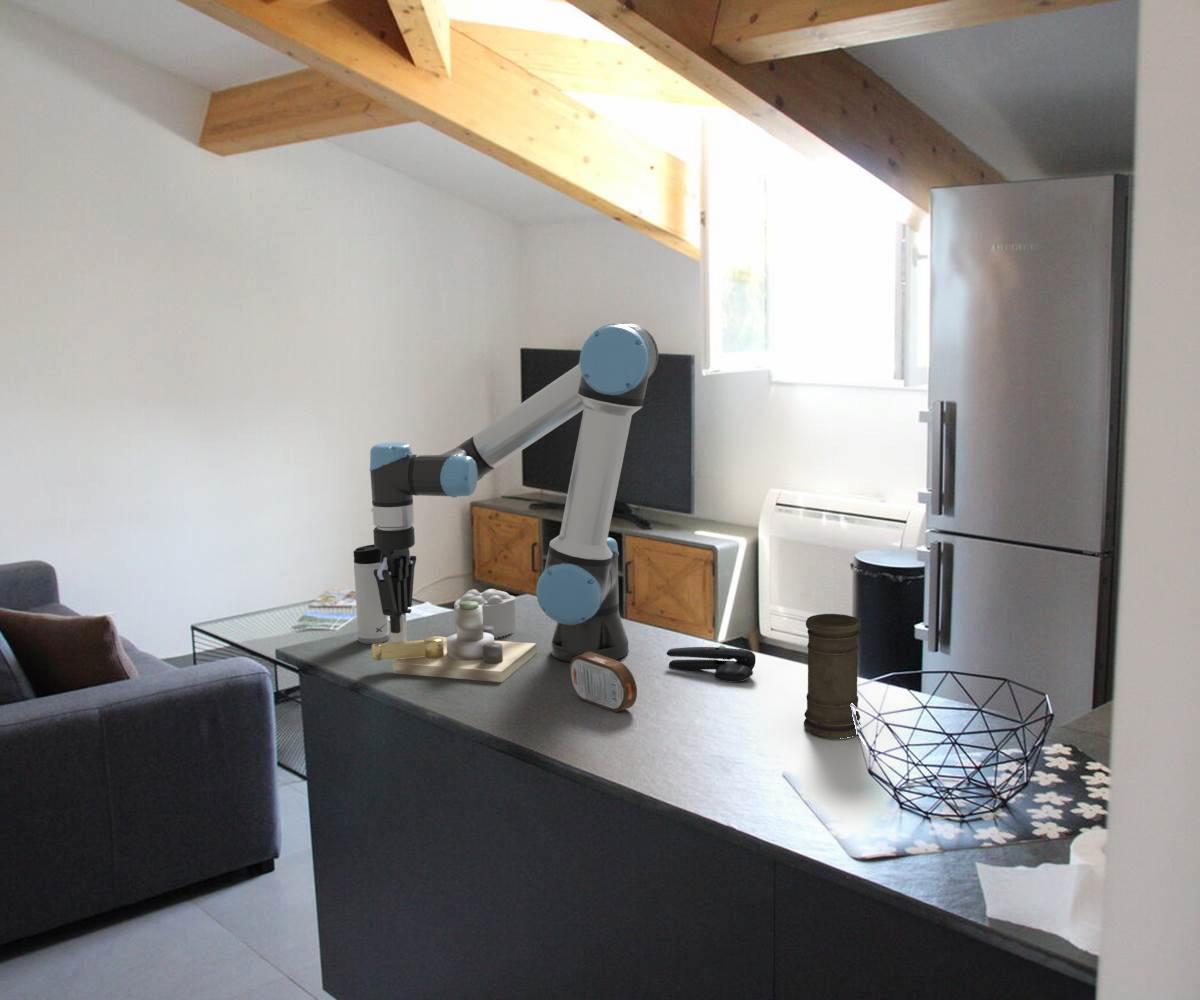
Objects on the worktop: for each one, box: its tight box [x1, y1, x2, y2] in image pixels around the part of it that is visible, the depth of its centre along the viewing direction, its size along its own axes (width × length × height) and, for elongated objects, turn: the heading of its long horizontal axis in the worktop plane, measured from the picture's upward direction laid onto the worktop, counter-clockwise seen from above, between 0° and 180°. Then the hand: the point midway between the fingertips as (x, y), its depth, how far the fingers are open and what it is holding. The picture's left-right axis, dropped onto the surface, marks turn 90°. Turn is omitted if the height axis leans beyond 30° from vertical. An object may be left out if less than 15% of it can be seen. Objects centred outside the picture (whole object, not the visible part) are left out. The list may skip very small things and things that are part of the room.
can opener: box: [666, 645, 757, 683], centre depth 214 cm, size 18×7×6 cm, turn 58°
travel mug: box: [353, 544, 390, 645], centre depth 238 cm, size 6×7×20 cm
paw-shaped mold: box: [453, 588, 518, 639], centre depth 242 cm, size 10×13×9 cm
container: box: [803, 613, 862, 740], centre depth 183 cm, size 9×9×18 cm
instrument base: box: [391, 601, 538, 683], centre depth 222 cm, size 22×18×12 cm
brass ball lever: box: [371, 636, 444, 662], centre depth 219 cm, size 13×4×3 cm, turn 102°
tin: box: [569, 652, 638, 713], centre depth 198 cm, size 15×3×8 cm, turn 41°
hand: (399, 647), depth 221 cm, fingers closed
